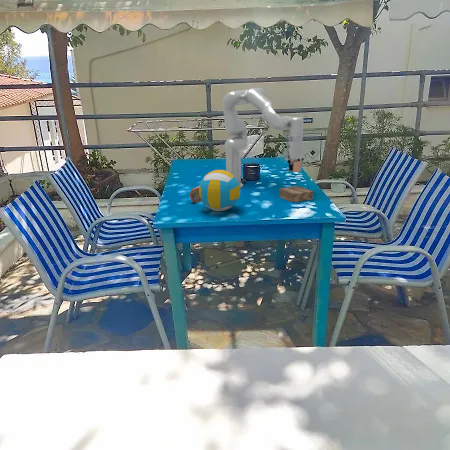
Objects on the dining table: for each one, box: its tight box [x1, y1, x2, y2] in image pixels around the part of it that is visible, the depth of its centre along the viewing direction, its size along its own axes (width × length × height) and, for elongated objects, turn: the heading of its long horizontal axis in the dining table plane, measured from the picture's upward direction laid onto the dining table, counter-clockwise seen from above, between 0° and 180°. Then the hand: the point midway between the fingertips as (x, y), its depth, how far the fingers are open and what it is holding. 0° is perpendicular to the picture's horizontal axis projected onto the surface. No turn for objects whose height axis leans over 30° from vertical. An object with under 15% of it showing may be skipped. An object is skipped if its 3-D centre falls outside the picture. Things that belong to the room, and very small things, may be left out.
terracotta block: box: [288, 159, 302, 173], centre depth 244 cm, size 5×5×6 cm
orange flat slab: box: [189, 185, 202, 204], centre depth 240 cm, size 15×3×8 cm, turn 148°
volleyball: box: [198, 169, 241, 212], centre depth 220 cm, size 22×22×22 cm
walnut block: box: [279, 185, 314, 203], centre depth 244 cm, size 14×14×5 cm
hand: (294, 169), depth 245 cm, fingers closed on terracotta block, 5 cm apart
